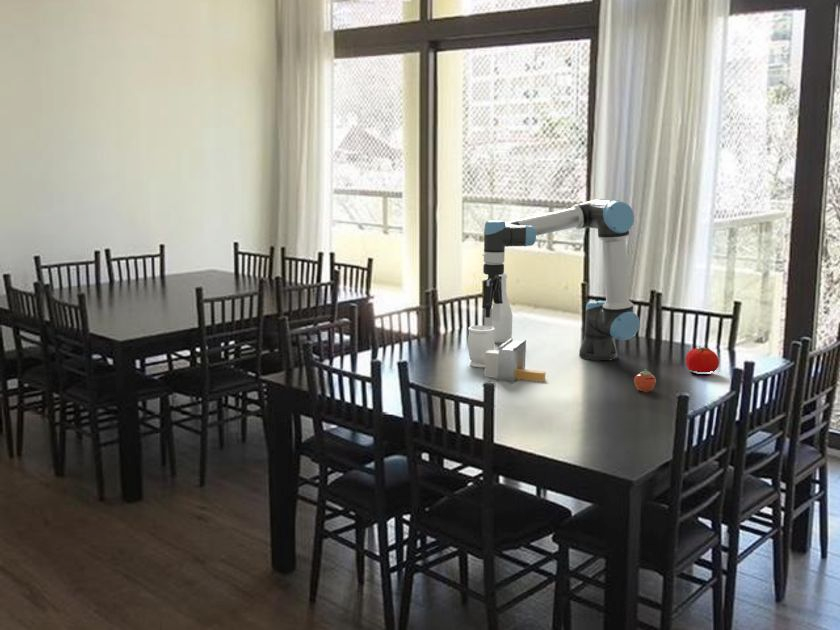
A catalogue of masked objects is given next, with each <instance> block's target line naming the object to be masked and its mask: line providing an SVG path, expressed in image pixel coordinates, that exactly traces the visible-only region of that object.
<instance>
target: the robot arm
mask: <svg viewBox="0 0 840 630" xmlns="http://www.w3.org/2000/svg"><path fill="white" fill-rule="evenodd" d="M634 222H635V214H634V211H633V208H632V207H631V206H630V205H629V204H628V203H627V202H624V201H621V200H618V199H606V198H605V199H604V198H596V199H592V200H589V201H584V202H582V203H577V204H573V205H572V206H571V208H567V209H561V210H557V211H552V212H548V213H547V212H546V213H544V214H539V215H534V216H529V217H525V218H521V219H516V220H511V221H507V222H506V221H503V220H493V219H492V220H486V221H485V223H484V230H483V231H484V232H483V235H484V236H483V237H484V238H483V253H482V256H483V269H482V270H483V274H484V275H487V279H485V280H484V291H483V293H484V294H483V301H482V307H481V308H482V309H484V319H483V320H484V322H483V323H484V325H483V326H492V321H500V304H502V303H503V301H502V285H501V280H502V276H499V275H502V274H503V273H505V264H504V263H505V250H506V249H505V248H508V247H531V246H534V244H536V242H537V241H536V240H537V236H541V235H546V234H550V233H555V232H559V231H560V232H561V231H564V230H569V229H573V228H575V229H577V230H582V229H597V236H598V238H599V239H600V240H601V241H602V253H603V256H602V257H603V269H604V272H603V273H604V284H605V285H604V286H605V300H594V301H588V302H587V303H586V305H585V320H584V321H585V322H584V339H583V341H582V343H581V346H580V348H579V353H578V354H579V357H580V358H581V359H584V358H585V360H589V359H591V360H590V361H596V360H609V361H611V360H610V359H614V358H616V357H617V358H618V351H617V346H616V343H615V340H618V341H619V340H620V341H628V340H630V339H632V338H633V337H634V336H635V335H636V334H637V333H638V331H639V329H640V324H641V322H640V318H639V316H638V315H637V314H636V312H634V303H633V302H632V301H630V299H629V282H628V265H627V264H628V262H627V245H626V239H627V238H628V236H630V229H631V228H632V226H633V225H634ZM499 303H500V304H499ZM492 308H493V313H492ZM617 358H616V359H617ZM614 360H615V359H614Z"/></svg>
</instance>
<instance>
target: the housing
mask: <svg viewBox="0 0 840 630" xmlns="http://www.w3.org/2000/svg"><path fill="white" fill-rule="evenodd" d="M526 347H527V339H522V341H521V340H520V341H519V340H514V339H513V337H512V338H510V339H509V340H508V341H506V342H505V343H501V345H500V346H498V351H499V355H498V377H497V382H500V383H501V382H502V383H510V384H515V382H517V380H518V379H517V369H524V370H526V353H527V351H526V350H527V348H526Z"/></svg>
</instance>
